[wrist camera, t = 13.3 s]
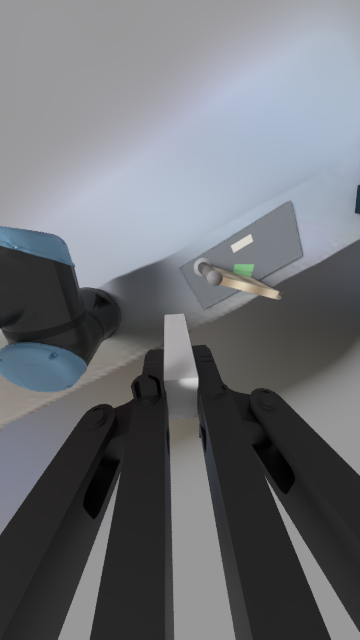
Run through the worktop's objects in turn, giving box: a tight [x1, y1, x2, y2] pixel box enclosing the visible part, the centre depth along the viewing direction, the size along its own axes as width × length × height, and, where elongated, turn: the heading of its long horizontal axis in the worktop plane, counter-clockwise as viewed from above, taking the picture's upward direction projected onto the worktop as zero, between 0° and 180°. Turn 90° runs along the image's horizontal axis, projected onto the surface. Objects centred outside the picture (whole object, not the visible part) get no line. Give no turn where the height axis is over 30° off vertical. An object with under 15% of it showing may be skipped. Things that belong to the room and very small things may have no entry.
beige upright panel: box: [198, 262, 283, 300], centre depth 37 cm, size 15×3×12 cm, turn 75°
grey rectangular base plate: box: [180, 201, 303, 310], centre depth 42 cm, size 28×13×2 cm, turn 120°
